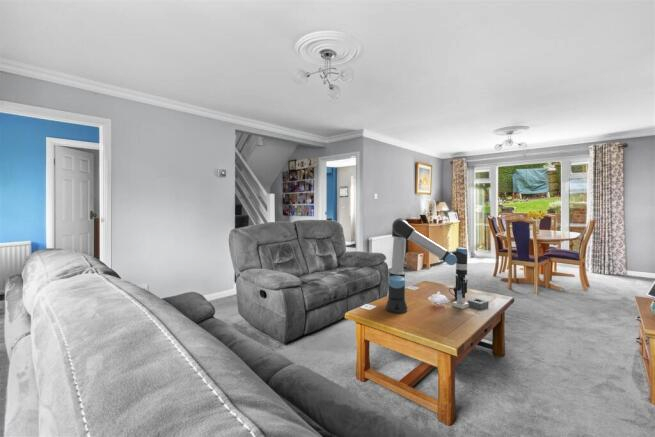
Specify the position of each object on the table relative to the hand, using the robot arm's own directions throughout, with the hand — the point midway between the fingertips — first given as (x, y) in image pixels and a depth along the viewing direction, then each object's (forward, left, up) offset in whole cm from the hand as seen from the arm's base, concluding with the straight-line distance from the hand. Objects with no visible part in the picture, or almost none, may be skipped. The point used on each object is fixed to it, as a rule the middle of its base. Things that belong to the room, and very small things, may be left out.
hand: (460, 300), depth 228 cm
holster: (0, 0, -5) cm, 5 cm away
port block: (+7, +10, -5) cm, 13 cm away
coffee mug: (-12, +14, -5) cm, 19 cm away
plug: (0, 0, -4) cm, 4 cm away
